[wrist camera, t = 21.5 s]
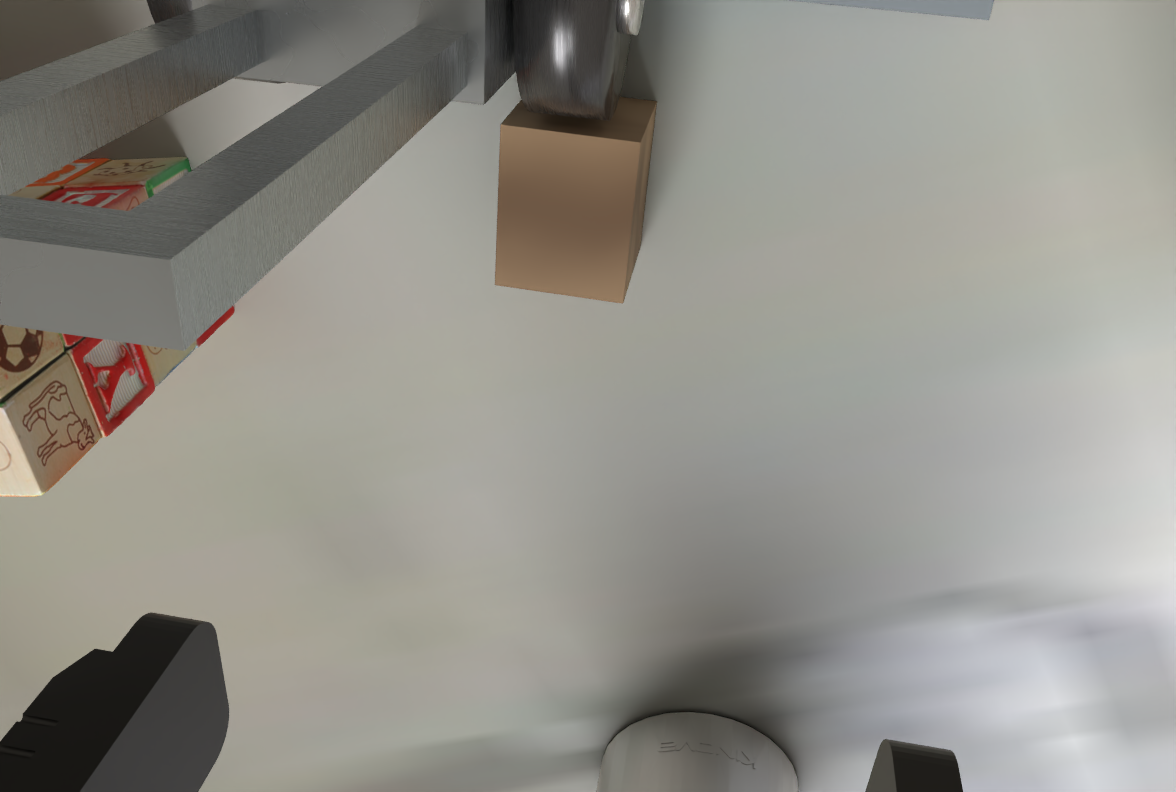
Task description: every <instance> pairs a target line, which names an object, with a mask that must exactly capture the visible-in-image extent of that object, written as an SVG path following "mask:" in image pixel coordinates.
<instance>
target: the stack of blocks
mask: <svg viewBox="0 0 1176 792" xmlns="http://www.w3.org/2000/svg"><path fill="white" fill-rule="evenodd" d="M189 172H191V168H190V164H189V160H188V158H187V157H167V158H147V159H125V160H110V159H107V158H100V159H81V160H75V161H73V162H71V163H69V164H67V165H65V166H63V167H62V168H60V169H58V170H56V171H54V172H52V173H50V174H48V175H46V176H44V177H42V178H40V179H39V180H37V181H35V182H33V183H31V184H29V185H27V186H25V187H23V188H21V189H19V190H17V191H16V192H14V193H12V194H10V195H8V196H15V197H23V198H31V199H38V200H46V201H54V202H62V203H70V204H77V205H85V206H93V207H101V208H108V209H116V210H124V211H130V210H132V209H133V208H135V207H136V206H138V205H139V204H141V203H142V202H144V201H146V200H147V199H149V198H150V197H152V196H153V195H155V194H156V193H158V192H159V191H161V190H163V189H164V188H166V187H167V186H169V185H170V184H172V183H173V182H175V181H177V180H178V179H180V178H181V177H183V176H184V175H186V174H187V173H189ZM233 313H234V307H233V306H232V307H231V308H230V309H229V310H228V311H226V312H225V313H224V314H223V315H222V316H221V317H220V318H219V319H218V320H217V321H216V322H215V323H214V324H213V325H212V326H211V327H209V328H208V329H207V330H206V331H205V332H204V333H203V334H202V335H201V336H200V337H199V338H198V339H197V340H196V341H195V342H193V343H192V344H191V345H190V346H189V347H188V348H187V349H186V350H185V351H181V350H174V349H167V348H160V347H153V346H146V345H139V344H132V343H125V342H118V341H111V340H104V339H97V338H90V337H83V336H76V335H69V334H62V333H55V332H48V331H41V330H34V329H28V328H21V327H14V326H7V325H0V496H23V497H35V496H40V495H43V494H44V493H46V492H47V491H48V490H49V489H50V488H51V487H52V486H54V485H55V484H56V483H57V482H58V481H59V480H60V479H61V478H62V477H63V476H64V475H65V474H66V473H67V472H68V471H69V470H70V469H71V468H72V467H73V466H74V465H75V464H76V463H77V462H78V461H79V460H80V459H81V458H82V457H83V456H84V455H85V454H86V453H87V452H88V451H89V450H90V449H91V448H92V447H93V446H94V445H95V444H96V443H97V442H98V440H99V439H100V438H103V437H107V436H108V435H110V434H111V433H112V432H113V431H114V430H115V429H116V428H117V427H118V426H119V425H121V424H122V423H123V422H124V420H126V419H127V418H128V417H129V416H130V415H131V414H132V413H133V412H134V411H135V410H136V409H137V408H138V407H139V406H140V405H141V404H143V402H144V401H145V400H146V399H147V398H148V397H149V396H150V395H151V394H152V393H153V392H154V390H155V387H156V386H158V385H159V384H160V383H161V382H162V381H163V380H164V379H165V378H166V377H167V376H168V375H169V374H170V373H171V372H172V371H173V370H174V369H175V368H176V367H177V366H178V365H179V364H180V363H181V362H182V361H183V360H184V359H185V358H187V357H188V356H189V355H190V354H191V352H192V351H193V350H194V349H195V348H198V347H199V346H200V345H201V344H203V343H204V342H205V341H206V340H207V339H208V338H209V337H210V336H211V335H212V334H213V333H214V332H215V331H216V330H217V329H218V328H219V327H220V326H221V325H222V324H223V323H224V322H226V321H227V320H228V319H229V318H230V317H231V316H232V315H233Z"/></svg>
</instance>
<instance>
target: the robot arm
mask: <svg viewBox="0 0 1176 792" xmlns="http://www.w3.org/2000/svg"><path fill="white" fill-rule="evenodd" d="M228 721H229V705H228V699H227V693H226V687H225V681H224V675H223V669H222V663H221V658H220V652H219V646H218V640H217V634H216V630H215V628H214V626H213V625H212V624H211V623H209V622H205V621H199V620H193V619H187V618H181V617H175V616H169V615H163V614H157V613H148V614H145V615H144V616H142V617H141V618H140V619H139V620H138V621H137V622H136V623H135V624H134V625H133V627H132V628H131V629H130V631H129V632H128V633H127V634H126V636H125V637H124V638H123V640H122V641H121V642H120V643H119V645H118V646H117V647H116V649H115V650H114V651H113V652H111V651H105V650H99V649H94V650H93V651H91V652H90V653H88V654H87V655H85V656H84V657H82V658H81V659H79V660H78V661H76V662H75V663H74V664H72V665H71V666H69V667H68V668H66V669H65V670H63V671H62V672H60V673H59V674H58V675H56V676H55V677H53V678H52V679H51V681H50V682H49V683H48V684H47V685H46V687H45V688H44V689H43V690H42V691H41V693H40V694H39V695H38V696H37V698H36V699H35V700H34V701H33V702H32V704H31V705H30V706H29V707H28V708H27V710H26V711H25V712H24V713H23V718H22V720H21V721H20V722H16V723H15V724H14V725H13V727H12V728H11V729H10V730H9V732H8V733H7V734H6V735H5V736H4V738H3V739H2V740H1V741H0V792H198V791H199V789H200V788H201V786H202V784H203V782H204V781H205V779H206V777H207V776H208V774H209V772H210V770H211V769H212V767H213V765H214V764H215V762H216V760H217V758H218V756H219V754H220V751H221V749H222V746H223V743H224V740H225V737H226V732H227V728H228ZM596 792H798V779H797V776H796V773H795V770H794V768H793V765H792V763H791V762H790V761H789V759H788V758H787V756H786V755H785V753H784V752H783V751H782V750H781V749H780V748H779V747H778V746H777V745H776V744H775V743H774V742H773V741H771V740H770V739H769V738H768V737H766V736H764V735H763V734H761V733H760V732H758V731H756V730H755V729H753V728H752V727H749V726H747V725H744V724H742V723H740V722H737V721H735V720H732V719H728V718H724V717H720V716H716V715H712V714H704V713H694V712H680V713H666V714H662V715H657V716H652V717H648V718H646V719H643V720H641V721H638V722H636V723H634V724H631V725H630V726H628V727H627V728H626V729H624V730H623V731H621V732H620V733H619V734H617V735H616V737H615V738H614V739H613V740H612V741H611V743H610V744H609V745H608V746H607V749H606V751H605V753H604V756H603V758H602V763H601V768H600V774H599V779H598V785H597V790H596ZM865 792H963V789H962V784H961V778H960V773H959V768H958V763H957V760H956V757H955V755H954V753H953V752H952V751H951V750H947V749H941V748H935V747H929V746H923V745H917V744H911V743H905V742H900V741H894V740H888V739H885V740H883V741H882V743H881V745H880V747H879V750H878V753H877V756H876V759H875V763H874V766H873V769H872V772H871V775H870V779H869V782H868V785H867V788H866V791H865Z"/></svg>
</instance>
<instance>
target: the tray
mask: <svg viewBox="0 0 1176 792" xmlns="http://www.w3.org/2000/svg"><path fill="white" fill-rule="evenodd" d="M790 1H800V2H810V3H820V4H830V5H840V6H850V7H860V8H871V9H881V10H891V11H901V12H911V13H921V14H931V15H941V16H951V17H962V18H972V19H982V20H989V18H990V14H991V10H992V6H993V2H994V0H790Z"/></svg>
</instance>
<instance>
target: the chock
mask: <svg viewBox="0 0 1176 792" xmlns="http://www.w3.org/2000/svg"><path fill="white" fill-rule="evenodd" d="M656 106H657V101H650V100H642V99H634V98H626V97H619V101H618V104H617V107H616V110H615V113H614V115H613V117H612V119H611V120H609V121H606V120H597V119H588V118H579V117H570V116H562V115H553V114H544V113H535V112H530V111H528V110H527V109H526V108H525V106H524V104H523V102H522V100H521V101H520V102H519V103H518V104H517V106H516V107H515V108H514V109H513V110H512V112H511V113H510V114H509V115H508V116H507V118H506V119H505V120H504V121H503V122H502V124H501V128H500V156H499V185H498V213H497V241H496V270H495V285H499V286H506V287H513V288H520V289H527V290H534V291H540V292H547V293H554V294H561V295H568V296H575V297H582V298H589V299H596V300H603V301H609V302H616V303H623V302H624V299H625V295H626V292H627V289H628V286H629V282H630V279H631V276H632V273H633V269H634V266H635V263H636V260H637V256H638V253H639V250H640V244H641V236H642V227H643V218H644V210H645V201H646V192H647V184H648V175H649V166H650V158H651V149H652V140H653V132H654V123H655V114H656Z"/></svg>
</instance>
